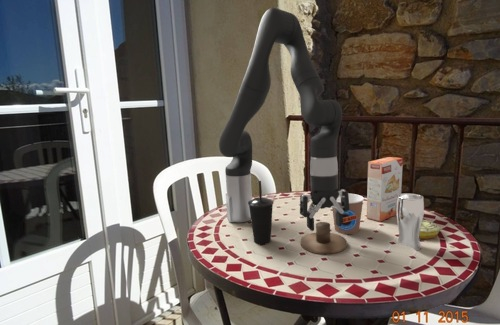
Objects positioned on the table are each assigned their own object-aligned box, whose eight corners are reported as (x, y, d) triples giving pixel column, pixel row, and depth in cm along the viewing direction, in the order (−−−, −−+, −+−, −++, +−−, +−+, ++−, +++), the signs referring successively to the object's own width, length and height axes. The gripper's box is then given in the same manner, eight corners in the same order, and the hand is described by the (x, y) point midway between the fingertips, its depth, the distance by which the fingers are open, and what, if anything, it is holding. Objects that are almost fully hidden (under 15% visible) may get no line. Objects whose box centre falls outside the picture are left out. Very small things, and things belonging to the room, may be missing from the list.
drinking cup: (257, 252, 98) (254, 185, 94) (245, 243, 105) (242, 180, 101) (279, 246, 101) (277, 181, 98) (267, 238, 108) (264, 177, 104)
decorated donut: (444, 233, 106) (445, 222, 105) (431, 244, 99) (431, 231, 98) (410, 225, 113) (411, 214, 113) (396, 234, 106) (396, 223, 106)
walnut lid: (311, 257, 90) (311, 236, 89) (294, 238, 103) (293, 220, 102) (355, 249, 93) (355, 229, 92) (333, 232, 106) (333, 214, 105)
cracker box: (381, 222, 117) (382, 163, 113) (365, 218, 121) (366, 161, 118) (401, 213, 125) (403, 157, 121) (386, 209, 130) (387, 156, 126)
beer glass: (425, 252, 93) (427, 200, 90) (398, 251, 94) (399, 199, 92) (418, 242, 99) (420, 193, 97) (393, 241, 101) (394, 193, 98)
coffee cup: (327, 237, 106) (327, 201, 104) (332, 226, 115) (332, 192, 113) (362, 241, 102) (362, 203, 100) (364, 229, 111) (365, 194, 109)
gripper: (340, 167, 100) (340, 220, 102) (295, 172, 96) (296, 226, 99) (354, 172, 92) (354, 228, 95) (305, 177, 89) (307, 236, 92)
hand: (325, 227), depth 97 cm, fingers open, 8 cm apart
